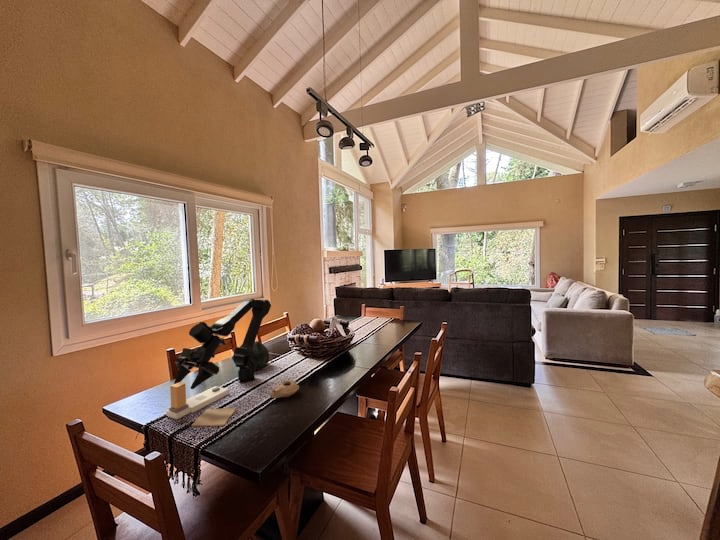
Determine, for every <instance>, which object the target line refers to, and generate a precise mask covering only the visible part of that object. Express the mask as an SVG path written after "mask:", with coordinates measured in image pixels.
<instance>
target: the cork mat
mask: <svg viewBox="0 0 720 540" xmlns="http://www.w3.org/2000/svg"><path fill="white" fill-rule="evenodd" d="M236 410H237V407H226V408H207V409H205V410H204V411H203V412H202V413H201V414H200V415H199V417H198V418H196V420H195V421H194V422H193V423H192V424H191V425H190V427H191V428H192V427H193V428H194V427H216V426H217V427H218V426H219V427H221V426H225V425H226V424H227V423H228V421H229V419H231V417H232V416H233V414H234V413H235V412H236Z"/></svg>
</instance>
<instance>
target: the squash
mask: <svg viewBox="0 0 720 540" xmlns="http://www.w3.org/2000/svg"><path fill="white" fill-rule="evenodd" d="M253 350H254V356H253V358H254V359H255V360H257V361H258V363H257V366H256V367H255V368H254V370H262V369H263V368H265V367H267V365H268V363H269V362H270V353H269V350H268V348H267V346H266V345H265V344H263V343H262V342H261V341H258V340H257V341H256V340H255V342H254V345H253Z"/></svg>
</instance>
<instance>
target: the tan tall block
mask: <svg viewBox="0 0 720 540" xmlns="http://www.w3.org/2000/svg"><path fill="white" fill-rule="evenodd" d="M186 388H187V387H186V383H185V382H182V381H181V382H178V383H176V384H174V383H173V384H171V385H170V389H169V390H170V406H169V407H168V410H171V411H172V412H176V413H178V412H180V411H182V410H184V409H186V408H187V407H189V406H188V404H186V400H187V393H186V392H187V391H186V390H187V389H186Z"/></svg>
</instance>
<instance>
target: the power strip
mask: <svg viewBox="0 0 720 540" xmlns="http://www.w3.org/2000/svg"><path fill="white" fill-rule="evenodd" d="M229 394H230V389H229V388H226V387H220V386H218V385H217V386H216V385H215V386H212V387H211V388H209V389H206V390H204V391H202V392H200V393H197V394H195V395H193V396H191V397H189V398H186V404H188V406H189V407H187V408H186V409H184V410H182V411H180V412H178V413H176V412H172V411H171V410H169V409H167V410H166V411H165V412H166V417H167V416H168V418H170V419H171V418H172V419H174V420H179V419H180V418H182V417H184V416H186V415H188V414H193V413H196V412H197V411H200V410H201V409H203V408H205V407H207V406H208V405H210V404H213V403H214V402H216V401H218V400H221V398H223V397H226V396H228V395H229Z"/></svg>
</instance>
